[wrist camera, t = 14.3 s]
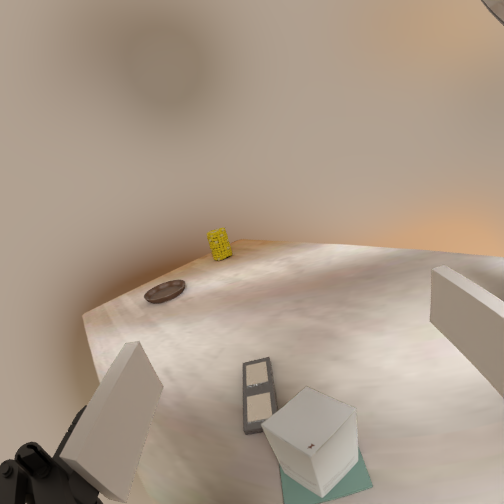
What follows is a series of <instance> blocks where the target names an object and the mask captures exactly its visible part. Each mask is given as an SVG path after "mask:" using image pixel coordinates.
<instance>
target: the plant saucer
mask: <svg viewBox="0 0 504 504" xmlns="http://www.w3.org/2000/svg"><path fill="white" fill-rule="evenodd" d="M184 286H185V281H183V280H173V281H169V282H165V283H162V284H160V285H158V286H156V287H154V288H152V289H150V290H149V291H148V292H147V293H146V294H145V295H144V298H145V299H146V300H147V301H149V302H151V303H154V304H158V303H163V302H167V301H169V300H172V299H174V298H175V297H177V296H178V295H180V294H181V293H182V291H183V289H184Z"/></svg>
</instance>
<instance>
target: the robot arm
mask: <svg viewBox="0 0 504 504" xmlns="http://www.w3.org/2000/svg"><path fill="white" fill-rule="evenodd" d="M481 1H482V2H483V4H484V5H485V6H486V7H487V9H488V10H489V11H490V12H491V13H492V14H493V15H494V17H496V19H497V20H498V21H499V22H500V23H501V24H503V26H504V0H481ZM430 322H431V323H432V324H433V325H434V326H435V327H436V328H437V329H438V330H439V331H440V332H441V333H442V334H443V335H444V336H445V337H446V338H447V339H448V340H449V341H450V342H451V343H452V344H453V345H454V346H455V347H456V348H457V349H458V350H459V351H460V352H461V353H462V354H463V355H464V356H465V357H466V358H467V359H468V360H469V361H470V362H471V363H472V364H473V365H474V366H475V367H476V368H477V369H478V370H479V371H480V373H481V374H482V375H483V376H484V377H485V378H486V379H487V380H488V381H489V382H490V383H491V385H492V386H493V387H494V388H495V389H496V390H497V391H498V392H499V394H500V395H501V396H502V397H503V398H504V301H502V300H501V299H499V298H498V297H496V296H495V295H493V294H492V293H490V292H488V291H487V290H485V289H484V288H482V287H481V286H479V285H477V284H476V283H474V282H472V281H471V280H469V279H468V278H466V277H464V276H463V275H461V274H459V273H458V272H456V271H454V270H452V269H451V268H449V267H447V266H445V265H441V266H439V267H436V268H433V269H431V309H430ZM162 390H163V385H162V383H161V381H160V380H159V378H158V376H157V374H156V372H155V370H154V369H153V367H152V365H151V363H150V361H149V359H148V357H147V355H146V353H145V351H144V350H143V348H142V346H141V344H140V341H137V342H130V343H125V345H124V346H123V348H122V349H121V351H120V352H119V354H118V356H117V357H116V359H115V360H114V362H113V364H112V365H111V367H110V368H109V370H108V372H107V373H106V375H105V377H104V378H103V380H102V382H101V383H100V385H99V387H98V388H97V390H96V392H95V393H94V395H93V397H92V398H91V400H90V402H89V403H88V405H86V406H85V407H84V408H83V409H82V410H80V412H78V414H77V415H76V417H75V419H74V420H73V422H72V425H70V427H69V429H68V432H67V433H66V434H65V436H64V438H63V440H62V441H61V443H60V445H59V447H58V449H57V451H56V453H55V454H54V456H53V458H51V457H50V456H49V455H48V454H47V453H46V452H45V451H44V450H43V448H42V447H41V446H40V445H38V444H37V443H36V442H29V443H26V444H24V445H23V446H21V447H20V448H19V449H18V451H17V453H16V455H15V460H10V459H9V460H6V461H4V462H3V463H2V464H1V465H0V504H25V503H27V504H103V503H102V501H101V500H100V499H99V498H98V494H99V492H100V493H101V494H103V495H104V496H105V497H107V498H108V499H110V500H114V501H119V502H124V503H127V499H128V496H129V492H130V489H131V486H132V482H133V479H134V475H135V472H136V469H137V466H138V463H139V459H140V456H141V453H142V450H143V447H144V444H145V441H146V437H147V434H148V431H149V428H150V425H151V422H152V419H153V416H154V413H155V410H156V407H157V404H158V402H159V399H160V396H161V393H162Z"/></svg>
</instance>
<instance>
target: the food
mask: <svg viewBox="0 0 504 504" xmlns="http://www.w3.org/2000/svg"><path fill="white" fill-rule="evenodd" d="M207 239H208V241H209V244H210V249H211V251H212V254H213V257H214V260H216V261H217V260H218V261H220V260H223V259H225V258H226V257H228V256H232V250H231V247H230V244H229V240H228V237H227V234H226V231H225V228H220V229H216V230H212V231H209V232H208V233H207Z"/></svg>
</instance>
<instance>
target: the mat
mask: <svg viewBox="0 0 504 504" xmlns="http://www.w3.org/2000/svg"><path fill="white" fill-rule="evenodd" d="M279 465H280V463H279ZM280 473H281V481H282V490H283V498H284V504H318V503H322V502H326V501H330V500H334V499H337V498H341V497H344V496H348V495H351V494H354V493H357V492H360V491H363V490H366V489H369V488H371V487H373V485H372V482H371V480H370V477H369V474H368V471H367V469H366V466H365V463H364V460H363V458H362V455H361V452H360V450H359V447H358V462H357V463H356V464H355V465H354V466H353V467H352V468H351V470H350V471H349V472H348V473H347V474H346V475H345V476H344V477H343V478H342V479H341V480H340V481H339V482H338V483H337V484H336V485H335V486H334V487H333V488H332V489H331V490H330V491H329V492H328V493H327V494H326V495H325V496H324V497H323V498H321V497H320V496H318V495H316V494H315V493H313V492H312V491H310V490H308V489H307V488H305V487H304V486H302V485H301V484H299V483H298V482H296V481H295V480H293V479H292V478H290V477H289V476H288V475H286V474H285V473H284V471H283V469H282V467H281V465H280Z"/></svg>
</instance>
